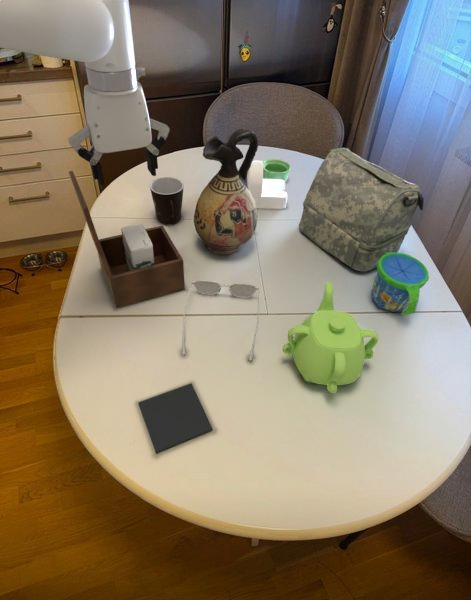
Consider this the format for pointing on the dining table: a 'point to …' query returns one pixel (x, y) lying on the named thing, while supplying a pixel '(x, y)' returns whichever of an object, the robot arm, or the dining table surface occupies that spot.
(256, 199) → the bracket
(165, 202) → the coffee mug
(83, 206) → the lid
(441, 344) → the dining table surface
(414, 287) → the sippy cup
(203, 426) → the mat
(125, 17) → the robot arm
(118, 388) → the dining table surface
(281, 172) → the ramekin
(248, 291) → the eyeglasses
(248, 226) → the ceramic jug
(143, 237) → the ink box
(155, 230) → the chest
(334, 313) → the teapot
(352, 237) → the lunch bag
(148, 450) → the dining table surface
